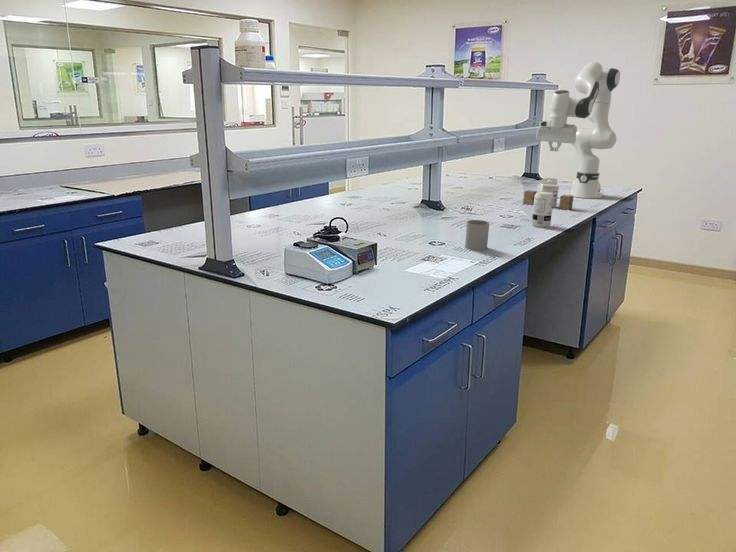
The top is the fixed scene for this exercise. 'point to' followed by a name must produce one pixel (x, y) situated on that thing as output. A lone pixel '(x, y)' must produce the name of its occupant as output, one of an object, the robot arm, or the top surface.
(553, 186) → the ink box
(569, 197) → the digit block one
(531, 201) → the digit block seven
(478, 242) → the cup
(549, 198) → the supplement can
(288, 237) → the top surface
